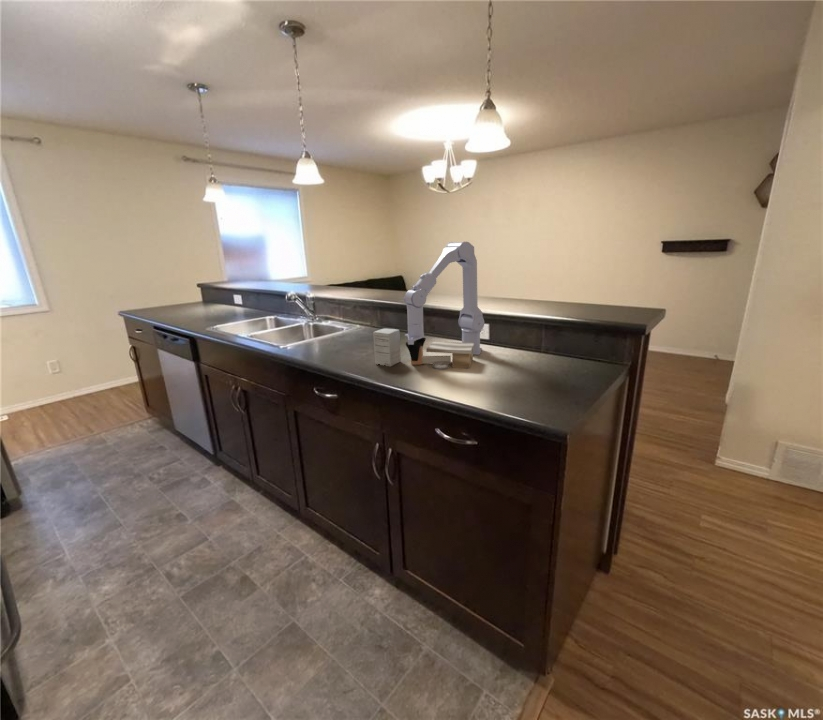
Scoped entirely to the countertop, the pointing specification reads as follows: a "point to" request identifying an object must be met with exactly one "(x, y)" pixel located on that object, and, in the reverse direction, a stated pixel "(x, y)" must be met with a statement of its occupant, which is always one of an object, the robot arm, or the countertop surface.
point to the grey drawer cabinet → (387, 346)
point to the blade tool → (430, 358)
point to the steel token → (440, 365)
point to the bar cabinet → (455, 352)
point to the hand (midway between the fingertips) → (416, 358)
